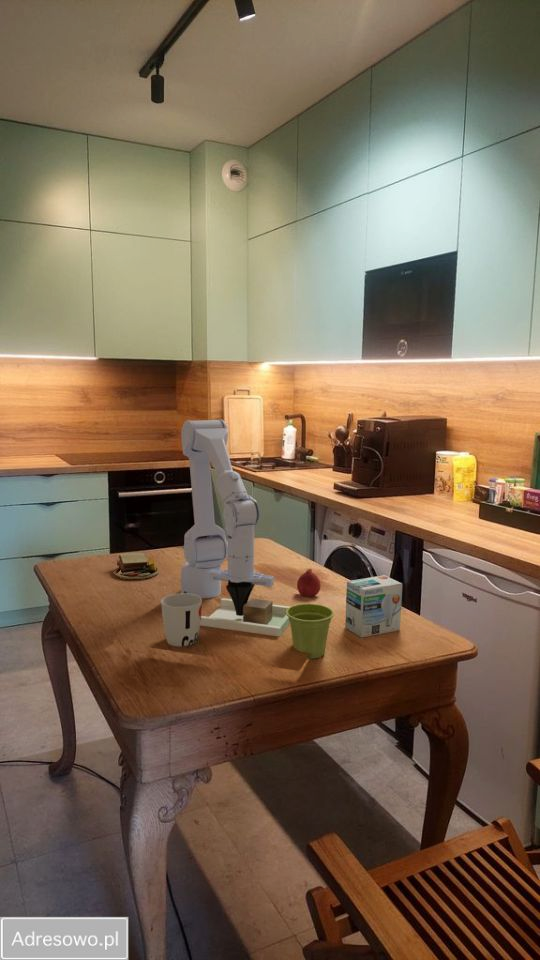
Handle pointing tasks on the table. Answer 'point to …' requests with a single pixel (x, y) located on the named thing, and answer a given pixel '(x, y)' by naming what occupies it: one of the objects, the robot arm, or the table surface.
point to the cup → (181, 618)
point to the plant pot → (310, 628)
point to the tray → (229, 620)
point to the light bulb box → (373, 605)
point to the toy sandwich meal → (136, 566)
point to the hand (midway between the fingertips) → (240, 614)
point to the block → (257, 611)
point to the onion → (308, 584)
